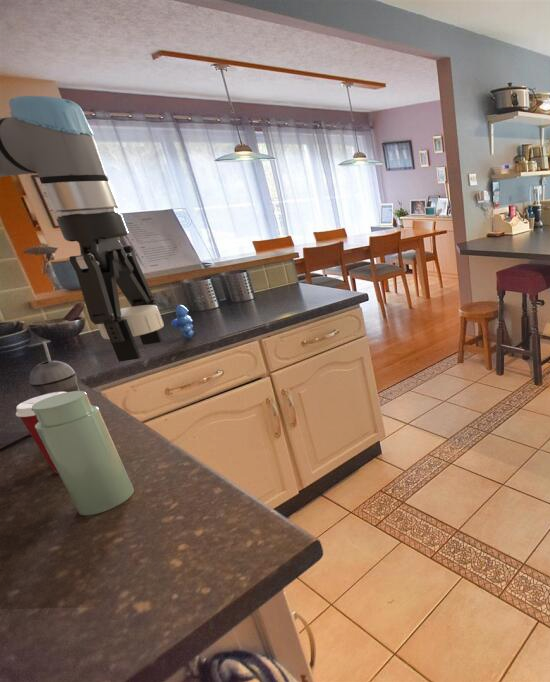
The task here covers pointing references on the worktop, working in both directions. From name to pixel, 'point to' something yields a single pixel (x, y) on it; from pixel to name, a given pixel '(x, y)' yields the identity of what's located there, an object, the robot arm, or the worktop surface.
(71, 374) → the beverage cup
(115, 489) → the thermos
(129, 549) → the worktop surface
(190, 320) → the grapes
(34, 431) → the paper cup
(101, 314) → the robot arm
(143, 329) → the thermos lid
